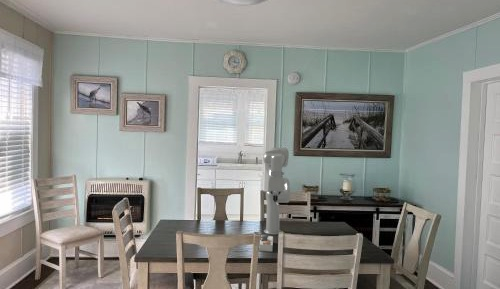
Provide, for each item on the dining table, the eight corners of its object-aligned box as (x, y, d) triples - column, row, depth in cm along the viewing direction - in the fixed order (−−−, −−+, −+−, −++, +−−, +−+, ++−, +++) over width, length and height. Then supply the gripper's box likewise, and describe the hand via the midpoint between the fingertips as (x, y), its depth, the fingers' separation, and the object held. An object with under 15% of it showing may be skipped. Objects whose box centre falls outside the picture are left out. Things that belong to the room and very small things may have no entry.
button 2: (263, 245, 239) (263, 240, 239) (270, 246, 239) (270, 241, 239) (263, 247, 235) (263, 242, 235) (269, 248, 235) (270, 242, 235)
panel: (257, 241, 253) (257, 235, 253) (272, 242, 253) (272, 236, 252) (256, 250, 234) (256, 244, 234) (272, 251, 234) (272, 245, 234)
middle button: (261, 239, 246) (262, 234, 245) (268, 239, 245) (268, 234, 245) (261, 241, 242) (261, 236, 241) (267, 241, 241) (268, 236, 241)
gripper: (287, 173, 254) (286, 200, 256) (265, 172, 256) (264, 199, 257) (287, 175, 247) (286, 203, 249) (264, 174, 248) (263, 202, 250)
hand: (275, 201), depth 253 cm, fingers closed
